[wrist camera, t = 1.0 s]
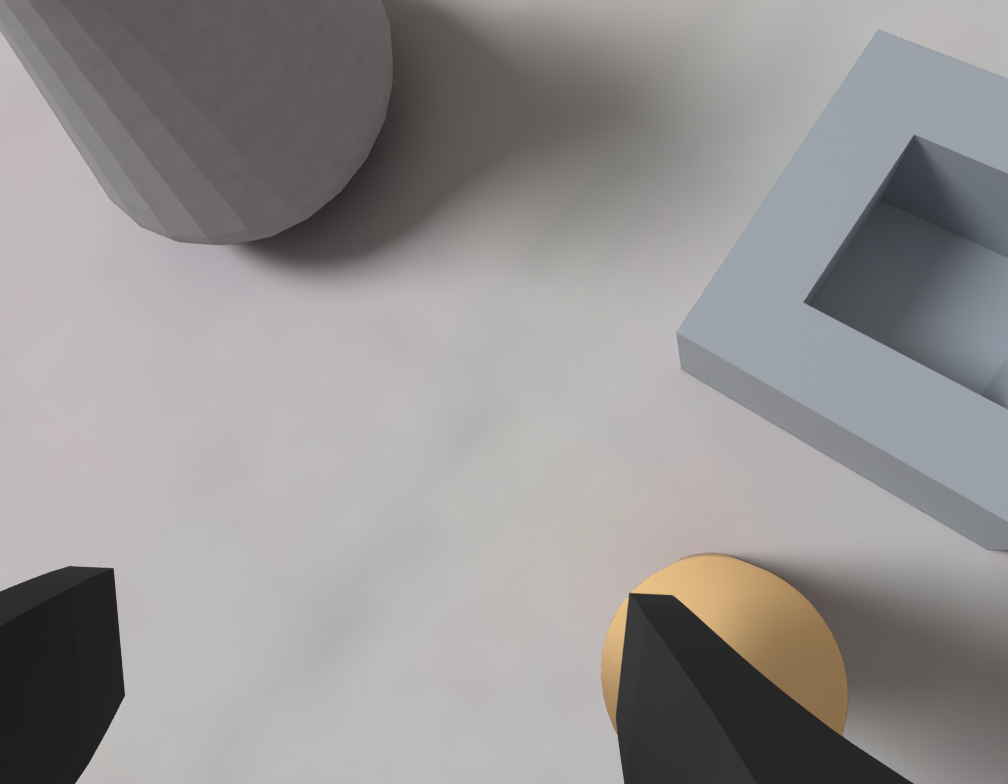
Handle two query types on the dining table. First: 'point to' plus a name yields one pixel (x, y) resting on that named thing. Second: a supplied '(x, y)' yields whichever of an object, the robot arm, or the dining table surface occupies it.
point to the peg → (748, 631)
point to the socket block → (882, 289)
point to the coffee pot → (212, 103)
